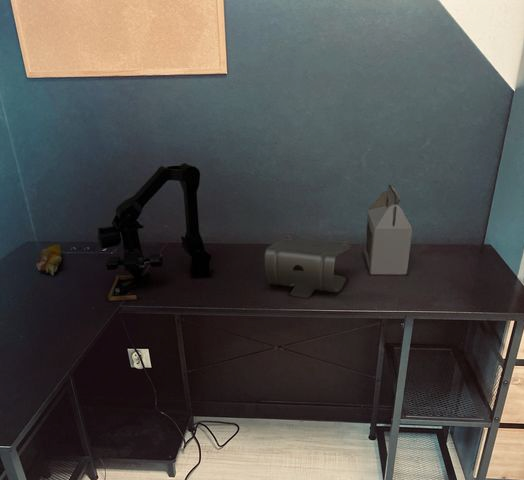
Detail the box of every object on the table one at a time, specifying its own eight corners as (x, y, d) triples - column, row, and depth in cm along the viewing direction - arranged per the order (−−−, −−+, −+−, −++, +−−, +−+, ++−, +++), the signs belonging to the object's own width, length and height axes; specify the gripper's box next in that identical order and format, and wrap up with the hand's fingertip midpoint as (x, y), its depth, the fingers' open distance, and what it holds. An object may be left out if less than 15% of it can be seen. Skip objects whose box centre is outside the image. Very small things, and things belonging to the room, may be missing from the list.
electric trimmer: (153, 281, 195) (152, 273, 193) (120, 295, 184) (119, 287, 182) (147, 279, 197) (145, 271, 195) (113, 293, 186) (112, 284, 184)
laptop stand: (262, 293, 183) (261, 250, 175) (283, 268, 202) (283, 228, 194) (334, 303, 175) (337, 259, 167) (350, 276, 194) (352, 235, 186)
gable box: (406, 275, 194) (416, 198, 179) (370, 274, 195) (377, 198, 180) (397, 253, 213) (405, 182, 198) (364, 253, 214) (370, 182, 199)
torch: (62, 262, 222) (53, 278, 199) (43, 255, 219) (32, 271, 196) (69, 244, 219) (60, 258, 197) (49, 237, 217) (38, 250, 194)
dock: (143, 277, 197) (142, 273, 196) (136, 299, 181) (135, 295, 180) (117, 278, 197) (116, 275, 196) (108, 300, 181) (107, 296, 180)
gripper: (99, 252, 173) (108, 295, 181) (156, 248, 174) (163, 292, 182) (105, 240, 183) (114, 282, 191) (159, 237, 183) (166, 278, 191)
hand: (139, 284), depth 189 cm, fingers closed
